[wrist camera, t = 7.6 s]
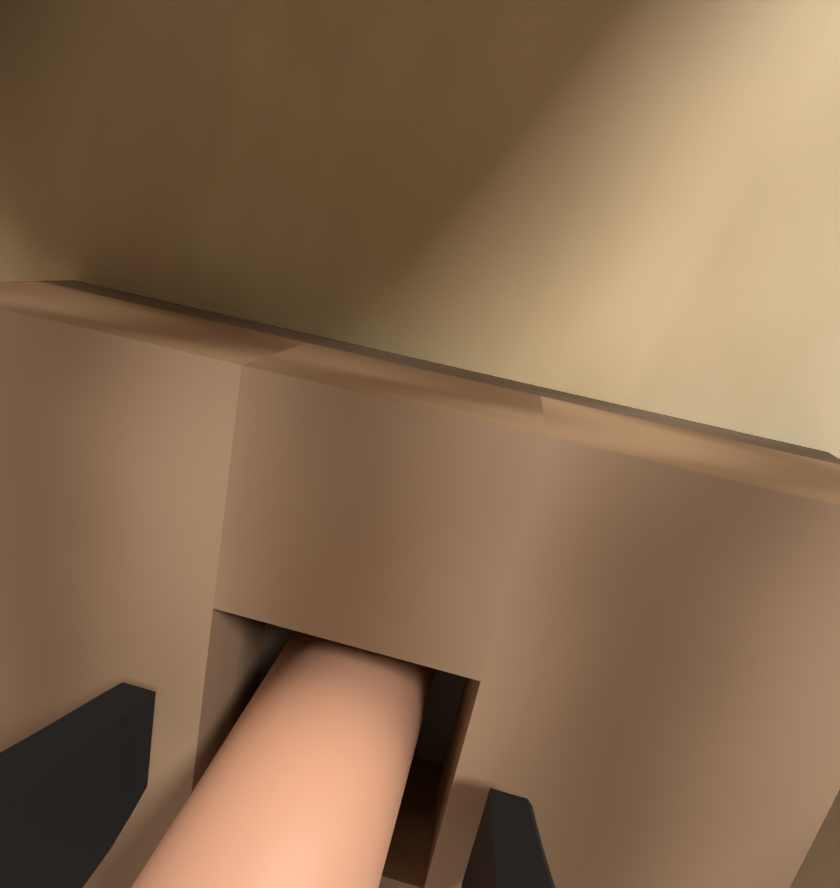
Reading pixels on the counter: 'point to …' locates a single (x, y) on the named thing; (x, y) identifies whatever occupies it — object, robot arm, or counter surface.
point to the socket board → (423, 584)
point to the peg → (302, 777)
